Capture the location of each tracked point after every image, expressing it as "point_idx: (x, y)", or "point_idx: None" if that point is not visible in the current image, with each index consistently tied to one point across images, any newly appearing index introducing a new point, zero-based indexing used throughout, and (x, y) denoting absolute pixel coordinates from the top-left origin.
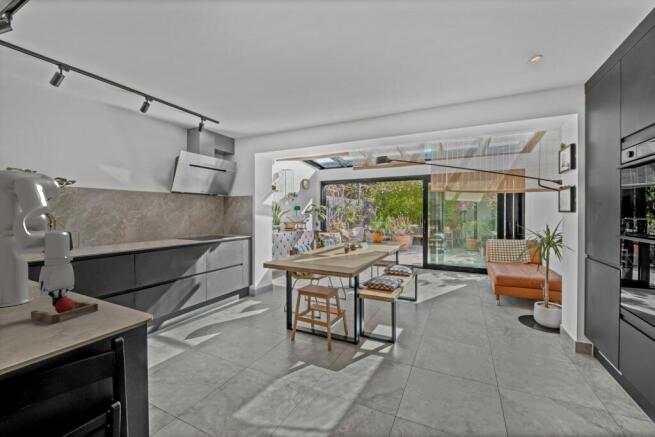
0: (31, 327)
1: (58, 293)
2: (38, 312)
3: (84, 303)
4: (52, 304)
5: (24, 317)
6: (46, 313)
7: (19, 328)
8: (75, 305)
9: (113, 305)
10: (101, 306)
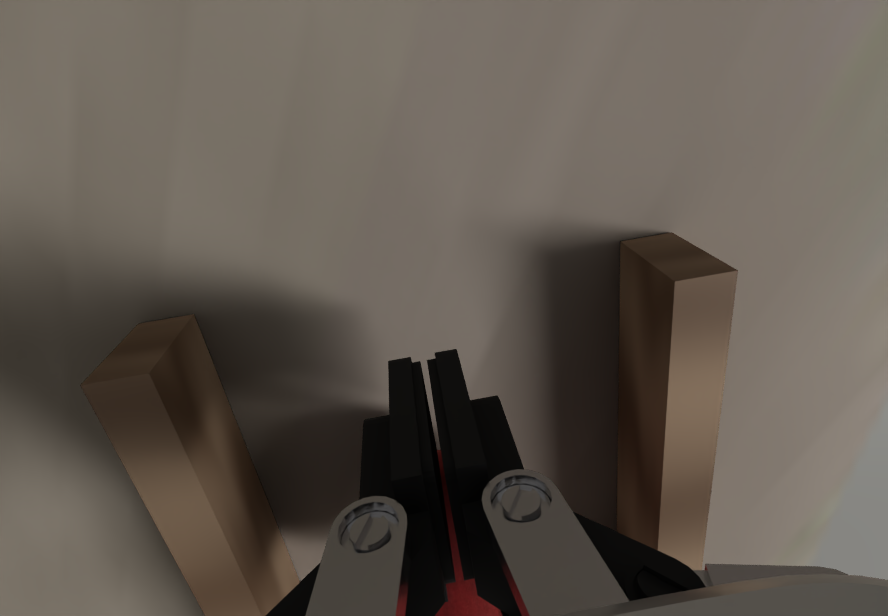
0: (115, 593)
1: (499, 550)
2: (163, 506)
3: (658, 532)
4: (364, 426)
5: (73, 122)
6: (226, 612)
7: (20, 547)
8: (642, 346)
9: (825, 513)
10: (774, 457)
